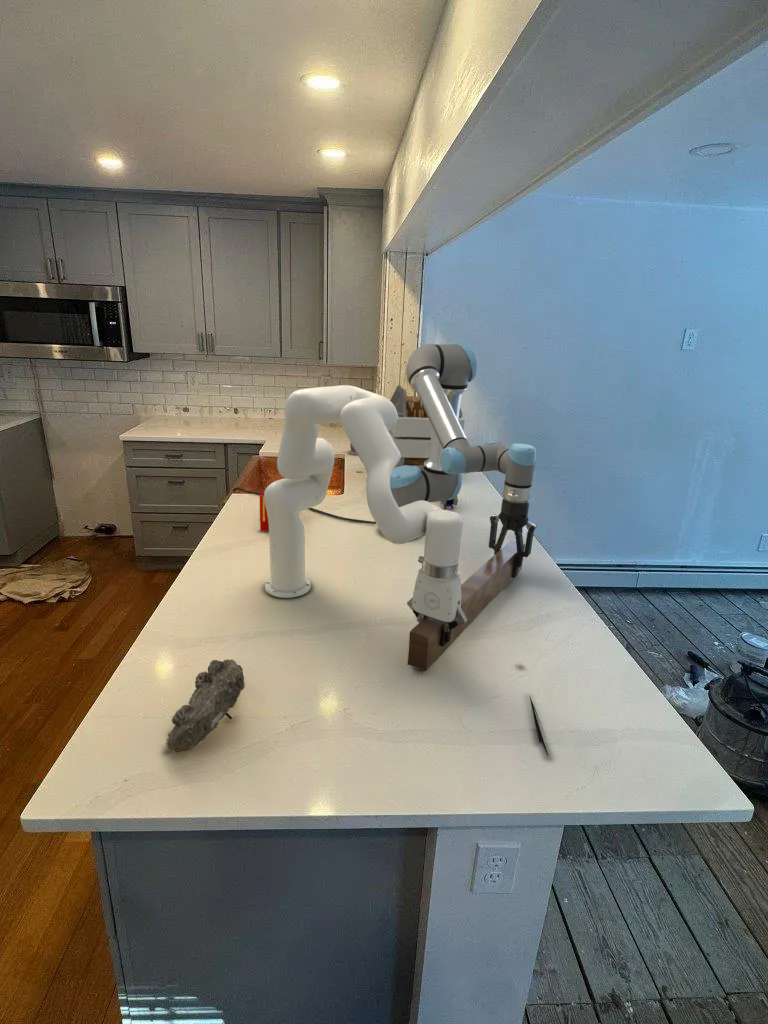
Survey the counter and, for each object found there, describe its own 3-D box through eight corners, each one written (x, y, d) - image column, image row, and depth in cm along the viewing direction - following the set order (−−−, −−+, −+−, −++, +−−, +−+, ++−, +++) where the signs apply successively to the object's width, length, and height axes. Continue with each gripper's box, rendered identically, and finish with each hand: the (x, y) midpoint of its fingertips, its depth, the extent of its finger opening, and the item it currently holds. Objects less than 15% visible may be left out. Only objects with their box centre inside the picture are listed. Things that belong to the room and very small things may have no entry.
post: (507, 565, 176) (510, 539, 173) (521, 568, 174) (525, 543, 171) (407, 664, 124) (409, 631, 121) (425, 671, 122) (428, 638, 119)
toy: (300, 481, 221) (289, 494, 192) (300, 514, 224) (289, 533, 194) (268, 480, 221) (253, 493, 191) (269, 514, 223) (254, 532, 194)
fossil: (192, 660, 117) (244, 628, 112) (224, 691, 120) (276, 661, 115) (142, 746, 98) (202, 712, 93) (182, 779, 101) (242, 748, 96)
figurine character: (457, 514, 225) (453, 498, 239) (459, 497, 222) (455, 481, 236) (441, 513, 225) (437, 497, 239) (442, 496, 222) (439, 481, 235)
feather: (521, 671, 128) (526, 665, 127) (548, 760, 101) (555, 753, 101) (514, 667, 128) (520, 661, 127) (540, 755, 101) (547, 748, 101)
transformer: (382, 463, 289) (386, 382, 275) (445, 464, 293) (451, 384, 279) (390, 482, 257) (394, 392, 243) (460, 483, 261) (468, 394, 247)
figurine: (353, 455, 301) (353, 427, 296) (345, 451, 309) (345, 424, 304) (369, 454, 305) (370, 426, 300) (361, 450, 314) (361, 423, 308)
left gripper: (397, 562, 123) (393, 635, 130) (469, 584, 115) (461, 660, 121) (414, 551, 129) (409, 621, 136) (483, 571, 121) (474, 644, 128)
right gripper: (481, 496, 161) (473, 570, 169) (542, 509, 153) (531, 586, 161) (491, 489, 167) (483, 561, 175) (550, 502, 159) (539, 577, 167)
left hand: (433, 639), depth 128 cm, fingers closed on post, 4 cm apart
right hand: (506, 573), depth 168 cm, fingers closed on post, 5 cm apart
